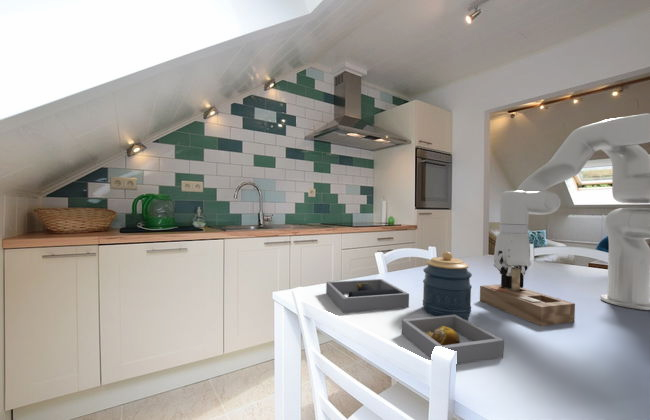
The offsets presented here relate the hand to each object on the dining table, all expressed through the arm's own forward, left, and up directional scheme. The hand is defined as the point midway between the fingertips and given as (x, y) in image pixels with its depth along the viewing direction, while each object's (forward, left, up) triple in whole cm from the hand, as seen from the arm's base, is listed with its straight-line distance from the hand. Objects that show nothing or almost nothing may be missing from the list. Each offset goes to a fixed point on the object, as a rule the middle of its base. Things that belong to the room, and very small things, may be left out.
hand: (512, 286), depth 90 cm
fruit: (+40, +16, -6) cm, 44 cm away
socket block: (+2, +5, -6) cm, 8 cm away
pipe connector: (+44, -12, -6) cm, 46 cm away
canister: (+26, +1, -6) cm, 26 cm away
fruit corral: (+39, +18, -6) cm, 43 cm away
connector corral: (+45, -14, -6) cm, 47 cm away
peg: (0, 0, -2) cm, 2 cm away
